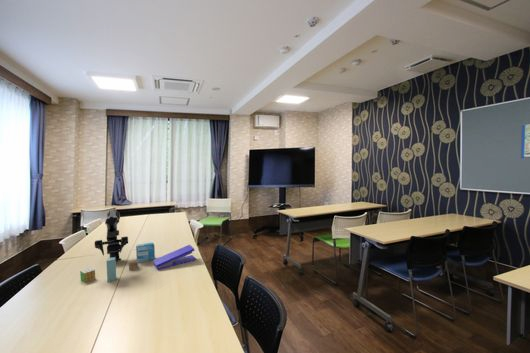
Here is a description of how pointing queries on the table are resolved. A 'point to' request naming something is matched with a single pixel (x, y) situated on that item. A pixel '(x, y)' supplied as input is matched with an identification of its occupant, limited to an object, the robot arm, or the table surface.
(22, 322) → the table surface
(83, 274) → the puzzle toy
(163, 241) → the table surface
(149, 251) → the data package
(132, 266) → the walnut cube
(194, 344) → the table surface
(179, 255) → the stapler
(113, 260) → the teal block
